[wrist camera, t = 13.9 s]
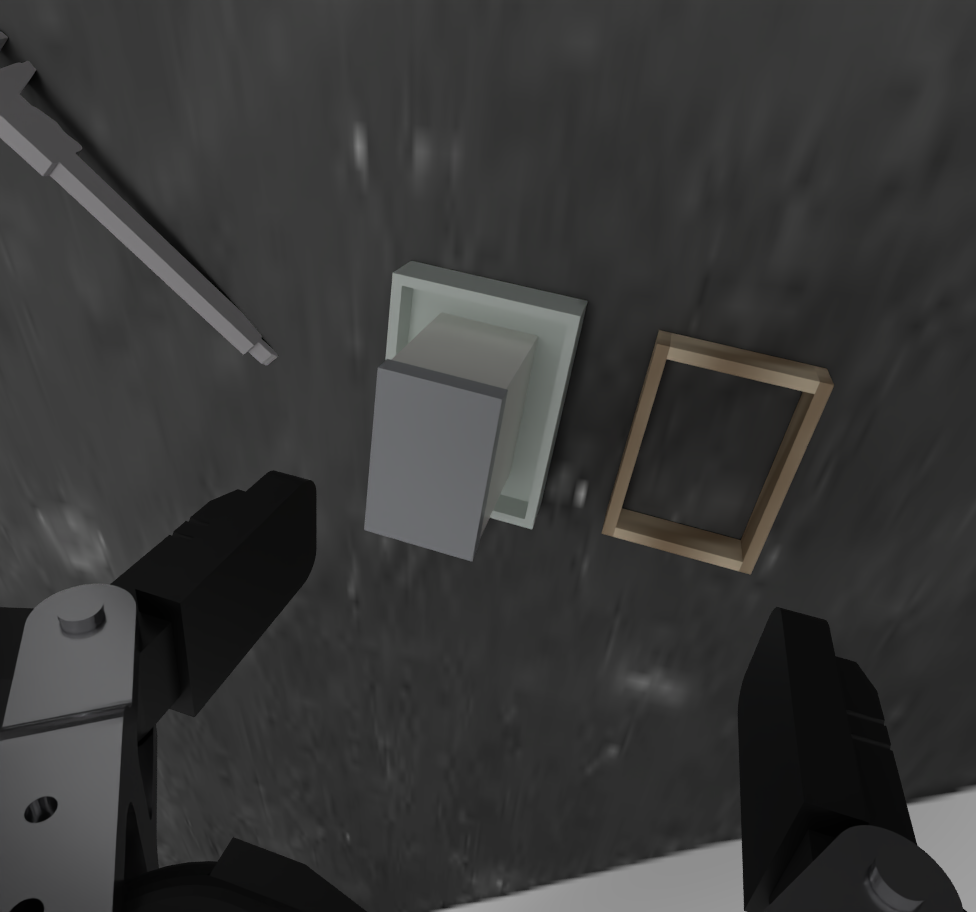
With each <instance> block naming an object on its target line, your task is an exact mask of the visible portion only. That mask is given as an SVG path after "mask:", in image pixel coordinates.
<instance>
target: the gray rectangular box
mask: <svg viewBox="0 0 976 912" xmlns="http://www.w3.org/2000/svg"><path fill="white" fill-rule="evenodd" d="M537 340H538V336H536V335H532V334H528V333H524V332H520V331H516V330H512V329H508V328H504V327H499V326H495V325H491V324H487V323H483V322H479V321H475V320H471V319H467V318H462V317H458V316H454V315H450V314H446V313H442V312H441V313H440V314H439V315H438V316H437V317H436V318H435V319H434V320H433V321H432V322H430V323H429V324H428V325H427V326H426V327H425V328H424V329H423V330H422V331H421V332H420V333H419V334H418V335H417V336H416V337H415V338H414V339H413V340H411V341H410V342H409V343H408V344H407V345H406V346H405V347H404V348H403V349H402V350H401V351H400V352H399V353H398V354H397V355H396V356H395V357H393V358H392V359H391V360H390V359H386V360H385V361H384V362H383V363H382V364H381V365H380V366H379V367H378V372H377V384H376V396H375V408H374V420H373V432H372V444H371V456H370V468H369V480H368V492H367V504H366V516H365V528H364V530H366V531H370V532H373V533H377V534H380V535H383V536H387V537H390V538H394V539H397V540H400V541H404V542H407V543H411V544H414V545H417V546H421V547H424V548H428V549H431V550H434V551H438V552H441V553H445V554H448V555H451V556H455V557H458V558H462V559H465V560H468V561H473V558H474V556H475V554H476V552H477V550H478V546H479V540H480V537H481V535H482V533H483V531H484V529H485V526H486V524H487V522H488V520H489V518H490V516H491V513H492V511H493V509H494V507H495V505H496V503H497V501H498V498H499V496H500V494H501V492H502V490H503V488H504V485H505V483H506V481H507V479H508V477H509V475H510V472H511V467H512V462H513V457H514V452H515V447H516V443H517V438H518V433H519V428H520V423H521V418H522V413H523V408H524V403H525V398H526V394H527V389H528V384H529V379H530V374H531V369H532V364H533V359H534V354H535V350H536V345H537Z"/></svg>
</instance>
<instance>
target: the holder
mask: <svg viewBox="0 0 976 912" xmlns="http://www.w3.org/2000/svg"><path fill="white" fill-rule="evenodd" d="M666 359H668V360H672V361H677V362H681V363H685V364H689V365H693V366H698V367H702V368H706V369H710V370H715V371H719V372H723V373H727V374H732V375H736V376H740V377H744V378H748V379H753V380H757V381H761V382H765V383H770V384H774V385H778V386H782V387H786V388H791V389H795V390H799V391H803V392H802V395H801V397H800V400H799V402H798V404H797V407H796V409H795V412H794V414H793V416H792V419H791V421H790V424H789V426H788V428H787V431H786V433H785V435H784V438H783V440H782V443H781V445H780V447H779V450H778V452H777V455H776V457H775V459H774V462H773V464H772V467H771V469H770V471H769V474H768V476H767V479H766V481H765V483H764V486H763V488H762V490H761V493H760V495H759V498H758V500H757V502H756V505H755V507H754V510H753V512H752V514H751V517H750V519H749V522H748V524H747V526H746V529H745V531H744V534H743V536H742V538H741V540H738V539H734V538H731V537H727V536H723V535H720V534H716V533H712V532H708V531H705V530H701V529H697V528H694V527H690V526H686V525H682V524H679V523H675V522H671V521H668V520H664V519H660V518H657V517H653V516H649V515H645V514H642V513H638V512H634V511H631V510H627V509H623V508H622V505H623V501H624V498H625V495H626V492H627V488H628V485H629V482H630V478H631V475H632V472H633V468H634V465H635V462H636V458H637V455H638V452H639V448H640V445H641V442H642V438H643V435H644V432H645V429H646V425H647V422H648V419H649V415H650V412H651V409H652V405H653V402H654V399H655V395H656V392H657V389H658V385H659V382H660V379H661V375H662V372H663V369H664V366H665V362H666ZM833 387H834V384H833V382H832V379H831V377H830V375H829V372H828V370H827V369H826V368H821V367H817V366H813V365H808V364H804V363H800V362H795V361H791V360H787V359H782V358H778V357H774V356H769V355H765V354H761V353H756V352H752V351H748V350H743V349H739V348H735V347H730V346H726V345H722V344H717V343H713V342H709V341H704V340H700V339H696V338H691V337H687V336H683V335H679V334H674V333H670V332H666V331H661V330H659V332H658V335H657V339H656V342H655V346H654V349H653V352H652V356H651V359H650V363H649V366H648V370H647V373H646V377H645V380H644V384H643V387H642V390H641V394H640V397H639V401H638V404H637V408H636V411H635V415H634V418H633V422H632V425H631V428H630V432H629V435H628V439H627V442H626V446H625V449H624V453H623V456H622V460H621V463H620V467H619V470H618V473H617V477H616V480H615V484H614V487H613V491H612V494H611V498H610V501H609V505H608V508H607V511H606V516H605V520H604V525H603V530H602V534H605V535H609V536H613V537H616V538H620V539H624V540H627V541H631V542H634V543H638V544H642V545H645V546H649V547H653V548H656V549H660V550H663V551H667V552H671V553H674V554H678V555H682V556H685V557H689V558H692V559H696V560H700V561H703V562H707V563H711V564H714V565H718V566H721V567H725V568H729V569H732V570H736V571H740V572H743V573H747V574H750V575H751V573H752V570H753V568H754V566H755V564H756V561H757V559H758V557H759V554H760V552H761V550H762V548H763V545H764V543H765V541H766V539H767V536H768V534H769V532H770V529H771V527H772V525H773V523H774V520H775V518H776V516H777V514H778V511H779V509H780V507H781V505H782V502H783V500H784V498H785V495H786V493H787V491H788V489H789V486H790V484H791V482H792V480H793V477H794V475H795V473H796V471H797V468H798V466H799V464H800V461H801V459H802V457H803V455H804V452H805V450H806V448H807V446H808V443H809V441H810V439H811V436H812V434H813V432H814V430H815V427H816V425H817V423H818V421H819V418H820V416H821V414H822V412H823V409H824V407H825V405H826V402H827V400H828V398H829V396H830V393H831V391H832V389H833Z"/></svg>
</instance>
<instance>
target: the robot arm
mask: <svg viewBox="0 0 976 912" xmlns="http://www.w3.org/2000/svg"><path fill="white" fill-rule="evenodd" d="M315 556H316V487H315V484H314V482H313V481H311V480H308V479H304V478H300V477H296V476H293V475H289V474H285V473H281V472H278V471H270V472H268V473H267V474H265V475H264V476H263V477H262V478H261V479H260V480H259V481H257V482H256V483H255V484H254V485H253V486H252V487H251V488H249V489H248V490H247V491H246V492H245V491H242V490H238V489H237V490H235V491H233V492H230V493H228V494H226V495H223V496H221V497H219V498H216V499H214V500H211V501H210V502H208V503H207V504H206V505H205V506H204V507H202V508H201V509H200V510H199V511H198V512H196V513H195V514H194V515H193V516H192V517H190V520H189V522H187V521H186V522H184V523H183V524H182V525H181V526H180V527H178V528H177V529H176V530H175V531H174V533H173V535H172V536H171V535H169V536H168V537H166V538H165V539H164V540H163V541H162V542H160V543H159V544H158V545H157V546H156V547H154V548H153V549H152V550H151V551H150V552H148V553H147V554H146V555H145V556H144V557H142V558H141V559H140V560H139V561H138V562H136V563H135V564H134V565H133V566H132V567H130V568H129V569H128V570H127V571H126V572H124V573H123V574H122V575H121V576H120V577H118V578H117V579H116V580H115V581H114V582H112V583H111V584H110V585H109V584H86V585H80V586H75V587H72V588H68V589H66V590H63V591H60V592H58V593H56V594H54V595H52V596H50V597H48V598H47V599H45V600H44V601H42V602H41V603H40V604H39V605H38V606H36V607H35V608H34V609H31V608H6V607H0V912H367V911H365V910H364V909H363V908H361V907H360V906H359V905H357V904H356V903H355V902H354V901H352V900H351V899H350V898H348V897H347V896H346V895H344V894H343V893H342V892H340V891H339V890H338V889H337V888H335V887H334V886H333V885H331V884H330V883H329V882H327V881H326V880H325V879H324V878H322V877H321V876H320V875H318V874H317V873H316V872H314V871H313V870H312V869H310V868H309V867H308V866H307V865H305V864H303V863H300V862H297V861H295V860H292V859H289V858H287V857H284V856H281V855H279V854H276V853H273V852H271V851H268V850H266V849H263V848H260V847H258V846H255V845H252V844H250V843H247V842H244V841H242V840H239V839H236V838H234V837H233V838H232V840H231V841H230V843H229V845H228V846H227V848H226V849H225V851H224V852H223V854H222V856H221V857H220V859H219V860H218V862H215V861H205V862H188V863H182V864H176V865H170V866H166V867H162V868H159V865H158V854H157V728H156V723H157V722H158V721H159V720H160V718H161V717H162V716H163V715H164V714H165V713H166V712H167V710H168V709H172V710H175V711H178V712H180V713H183V714H186V715H189V716H192V717H195V716H196V715H197V714H198V713H199V711H200V710H201V709H202V708H203V707H204V705H205V704H206V703H207V702H208V700H209V699H210V698H211V697H212V695H213V694H214V693H215V692H216V691H217V689H218V688H219V687H220V686H221V684H222V683H223V682H224V681H225V680H226V678H227V677H228V676H229V675H230V673H231V672H232V671H233V670H234V669H235V667H236V666H237V665H238V664H239V662H240V661H241V660H242V659H243V658H244V656H245V655H246V654H247V653H248V651H249V650H250V649H251V648H252V647H253V645H254V644H255V643H256V642H257V640H258V639H259V638H260V637H261V636H262V634H263V633H264V632H265V631H266V629H267V628H268V627H269V626H270V625H271V623H272V622H273V621H274V620H275V618H276V617H277V616H278V615H279V614H280V612H281V611H282V610H283V609H284V607H285V606H286V605H287V604H288V603H289V601H290V600H291V599H292V598H293V596H294V595H295V594H296V593H297V592H298V590H299V589H300V588H301V587H302V585H303V584H304V583H305V581H306V580H307V578H308V576H309V574H310V572H311V570H312V567H313V564H314V561H315ZM884 721H885V720H884V716H883V712H882V708H881V705H880V701H879V697H878V693H877V690H876V689H875V688H874V686H873V685H872V683H871V682H870V681H869V679H868V678H867V677H866V675H865V674H864V672H863V671H862V670H861V668H860V667H859V665H858V664H857V663H856V662H854V661H850V660H847V659H843V658H840V657H836V656H835V652H834V648H833V643H832V638H831V633H830V628H829V624H828V622H827V621H826V620H824V619H820V618H816V617H812V616H809V615H805V614H801V613H798V612H794V611H790V610H786V609H783V608H779V607H776V608H775V609H774V610H773V611H772V613H771V615H770V617H769V619H768V622H767V624H766V626H765V629H764V631H763V633H762V636H761V638H760V640H759V643H758V645H757V647H756V650H755V652H754V655H753V657H752V659H751V662H750V664H749V666H748V669H747V671H746V674H745V676H744V679H743V683H742V686H741V691H740V696H739V703H738V735H739V766H740V797H741V828H742V859H743V889H744V911H747V912H967V911H965V910H964V909H963V907H962V903H961V900H960V898H959V895H958V893H957V891H956V889H955V887H954V885H953V884H952V882H951V880H950V879H949V878H948V876H947V875H946V873H945V872H944V871H943V870H942V868H941V867H940V866H939V865H938V864H937V863H936V862H935V861H934V860H933V859H932V858H931V857H930V856H929V855H928V854H927V853H926V852H925V851H924V850H922V849H921V848H920V847H918V846H917V843H916V839H915V835H914V831H913V827H912V824H911V820H910V816H909V812H908V808H907V804H906V801H905V797H904V793H903V789H902V785H901V781H900V777H899V774H898V770H897V766H896V762H895V758H894V754H893V751H892V750H890V745H891V743H890V739H889V735H888V731H887V728H886V726H884Z"/></svg>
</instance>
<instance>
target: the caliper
mask: <svg viewBox="0 0 976 912" xmlns="http://www.w3.org/2000/svg"><path fill="white" fill-rule="evenodd" d="M7 39H8V37H7V36H6V35H5V34H4V33H3V32H1V31H0V51H1V49H2V47H3V46H4V44H5V42H6V41H7ZM35 71H36V69H35V68H34V66H33V65H32V64H31V63H30V62H29V61H26V62H24V63H20V62H18V63H15V64H12V65H9V66H6V67H4V68H1V69H0V138H1V139H2V140H3V141H5V142H6V143H7V144H8V145H9V146H10V147H11V148H12V149H13V150H14V151H16V152H17V153H18V154H19V155H20V156H21V157H22V158H23V159H24V160H25V161H27V162H28V163H29V164H30V165H31V166H32V167H33V168H34V169H35V170H36V171H38V172H39V173H40V174H41V175H42V176H49V175H50V176H51V177H52V178H53V179H54V180H55V181H57V182H58V183H59V184H60V185H61V186H62V187H63V188H64V189H65V190H66V191H67V192H68V193H69V194H71V195H72V196H73V197H74V198H75V199H76V200H77V201H78V202H79V203H80V204H81V205H82V206H83V207H85V208H86V209H87V210H88V211H89V212H90V213H91V214H92V215H93V216H94V217H95V218H96V219H97V220H99V221H100V222H101V223H102V224H103V225H104V226H105V227H106V228H107V229H108V230H109V231H110V232H111V233H112V234H114V235H115V236H116V237H117V238H118V239H119V240H120V241H121V242H122V243H123V244H124V245H125V246H126V247H128V248H129V249H130V250H131V251H132V252H133V253H134V254H135V255H136V256H137V257H138V258H139V259H140V260H142V261H143V262H144V263H145V264H146V265H147V266H148V267H149V268H150V269H151V270H152V271H153V272H154V273H156V274H157V275H158V276H159V277H160V278H161V279H162V280H163V281H164V282H165V283H166V284H167V285H168V286H170V287H171V288H172V289H173V290H174V291H175V292H176V293H177V294H178V295H179V296H180V297H181V298H182V299H184V300H185V301H186V302H187V303H188V304H189V305H190V306H191V307H192V308H193V309H194V310H195V311H197V312H198V313H199V314H200V315H201V316H202V317H203V318H204V319H205V320H206V321H207V322H208V323H210V324H211V325H212V326H213V327H214V328H215V329H216V330H217V331H218V332H219V333H220V334H221V335H223V336H224V337H225V338H226V339H227V340H228V341H229V342H230V343H231V344H232V345H233V346H234V347H236V348H237V349H238V350H239V351H240V352H241V353H242V354H243V355H244V354H245V353H246V352H249V353H250V354H251V355H252V356H253V357H255V358H256V359H257V360H258V361H259V362H260V363H261V364H265V365H266V366H267V365H269V364H270V363H271V362H272V361H273V360H275V359H276V358H277V357H278V354H277V353H276V352H275V351H274V350H273V349H272V348H271V347H270V346H269V345H268V344H267V343H266V342H265V341H263V340H262V339H261V338H262V335H261V334H260V333H259V332H258V331H257V330H256V328H255V327H254V326H253V325H252V324H251V323H250V321H249V320H248V319H247V318H246V317H245V315H244V314H243V313H242V312H241V311H240V310H239V309H238V308H237V307H236V306H235V305H234V304H233V303H232V302H231V301H229V300H228V299H227V298H226V297H225V296H224V295H223V294H222V293H221V292H220V291H219V290H218V289H217V288H216V287H215V286H214V285H213V284H212V283H211V282H209V281H208V280H207V279H206V278H205V277H204V276H203V275H202V274H201V273H200V272H199V271H198V270H197V269H196V268H195V267H194V266H193V265H192V264H190V263H189V262H188V261H187V260H186V259H185V258H184V257H183V256H182V255H181V254H180V253H179V252H178V251H177V250H176V249H175V248H174V247H173V246H172V245H170V244H169V243H168V242H167V241H166V240H165V239H164V238H163V237H162V236H161V235H160V234H159V233H158V232H157V231H156V230H155V229H154V228H153V227H152V226H151V225H150V224H149V223H148V222H146V221H145V220H144V219H143V218H142V217H141V216H140V215H139V214H138V213H137V212H136V211H135V210H134V209H133V208H132V207H131V206H130V205H129V204H128V203H127V202H126V201H125V200H124V199H123V198H121V197H120V196H119V195H118V194H117V193H116V192H115V191H114V190H113V189H112V188H111V187H110V186H109V185H108V184H107V183H106V182H105V181H104V180H103V179H102V178H101V177H100V176H99V175H97V174H96V173H95V172H94V171H93V170H92V169H91V168H90V167H89V166H88V165H87V164H86V163H85V162H84V161H83V160H82V159H81V158H80V157H79V156H78V154H79V153H80V151H81V150H82V146H81V145H80V144H79V143H78V142H77V141H75V140H74V139H73V138H71V137H70V136H68V135H67V134H66V133H65V132H64V131H63V130H62V128H61V127H60V126H59V124H58V123H57V122H56V121H54V120H53V119H52V118H50V117H49V116H47V115H46V114H45V113H43V112H42V111H40V110H39V109H38V108H36V107H34V106H31V105H30V104H29V103H28V102H27V101H26V100H25V99H24V98H23V97H22V96H21V95H20V94H21V92H22V91H23V89H24V88H25V87H26V85H27V84H28V82H29V81H30V79H31V77H32V76H33V74H34V73H35Z"/></svg>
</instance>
